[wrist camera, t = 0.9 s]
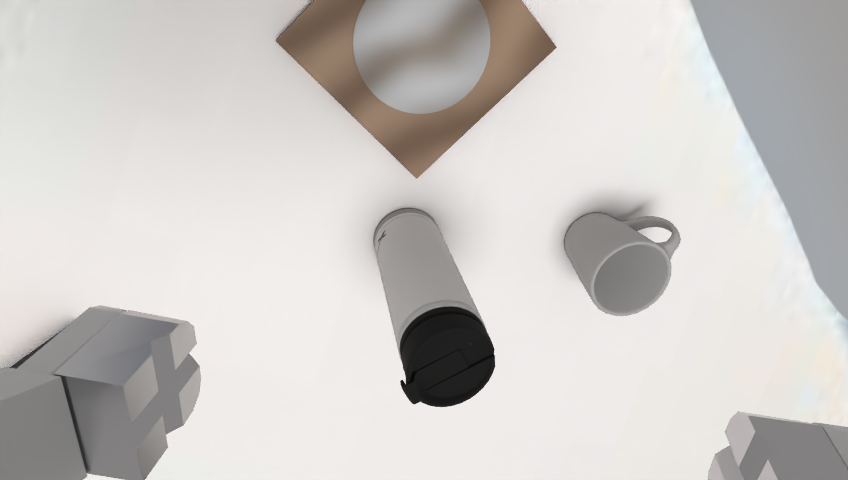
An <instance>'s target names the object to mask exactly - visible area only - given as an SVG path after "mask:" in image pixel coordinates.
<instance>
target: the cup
mask: <svg viewBox="0 0 848 480" xmlns="http://www.w3.org/2000/svg"><path fill="white" fill-rule="evenodd" d="M648 227H661V228H665V229H667V230H669V231H671V232H672V235H671V237H670V238H669V239H668V240H667V241H666V242H662V243H655V242H653V241H651V240H650V239H648V238H647V237H645V236H643V235H642V234H640V233H639V232H637V231H638V230H640V229H644V228H648ZM680 240H681V239H680V235H679V232H678V230H677V229H676V227H675V226H674V225H673V224H672V223H671V222H670V221H668V220H665V219H663V218H659V217H654V216H644V217H639V218H634V219H630V220H626V221H623V222H622V221H618V220H616V219H614V218H612V217H610V216H608V215H606V214H603V213H591V214H587V215H585V216H583V217H581V218H579V219H578V220H577V221H575V222H574V223H573V224H572V226H571V227H570V228H569V230H568V232H567V234H566V236H565V241H564V246H565V251H566V253H567V255H568V257H569V259H570V261H571V263H572V265H573V267H574V269H575V271H576V273H577V275H578V277H579V279H580V280H581V282H582V284H583V286H584V287H585V289H586V291H587V292H588V294H589V296H590V297H591V299H592V301H593V302H594V304H595V305H596V306H597V307H598V308H599V309H600V310H602V311H603V312H605V313H607V314H611V315H615V316H627V315H631V314H635V313H638V312H640V311H642V310H644V309H646V308H648V307H649V306H650V305H652V304H653V303H654V302H655V301H656V300H657V299H658V298H659V297H660V296H661V295H662V294H663V292H664V290H665V289H666V287H667V285H668V283H669V280H670V276H671V262H670V259H671V257H672V255H673V253H674V251H675V250H676V249H677V247H678V246H679V244H680Z"/></svg>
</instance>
